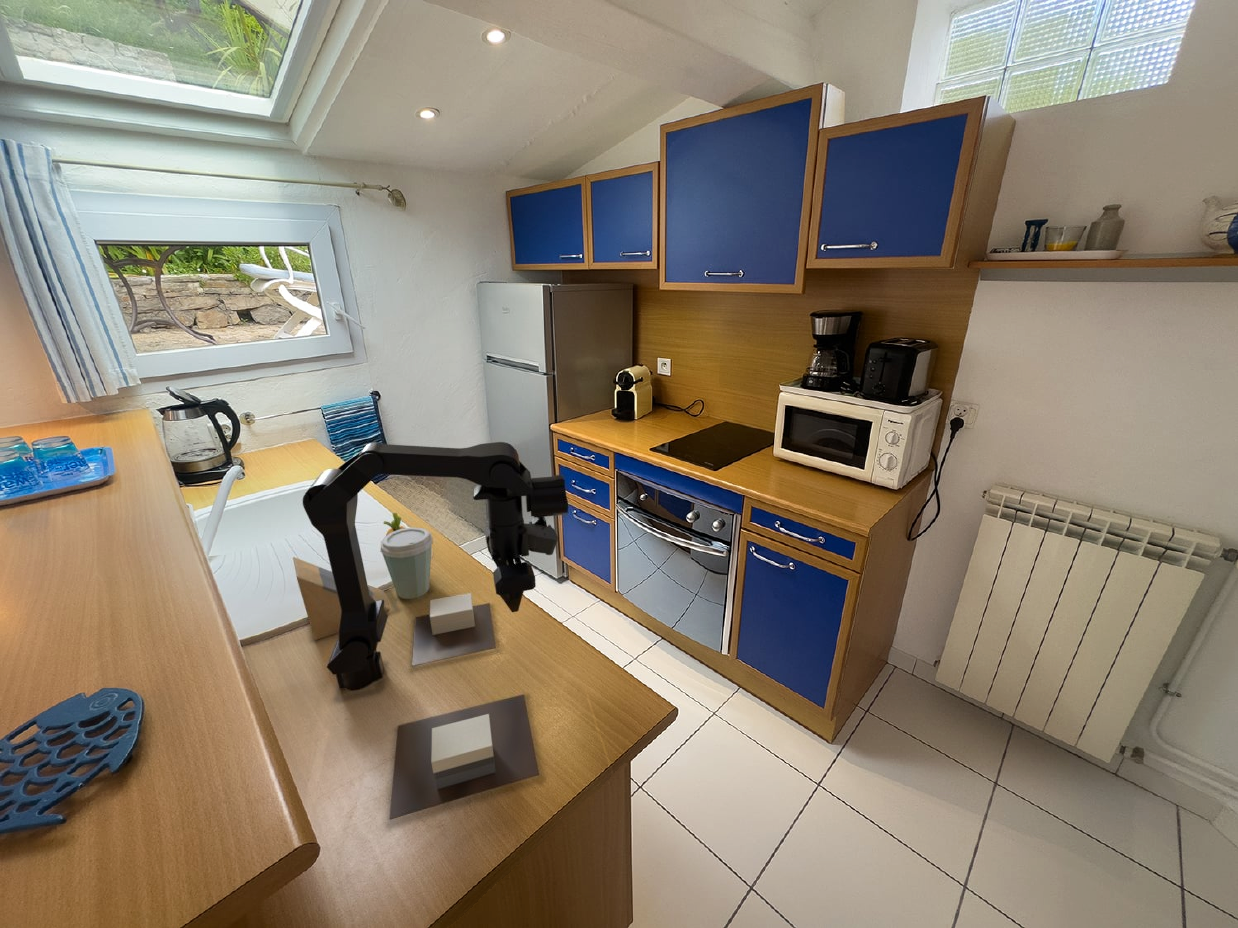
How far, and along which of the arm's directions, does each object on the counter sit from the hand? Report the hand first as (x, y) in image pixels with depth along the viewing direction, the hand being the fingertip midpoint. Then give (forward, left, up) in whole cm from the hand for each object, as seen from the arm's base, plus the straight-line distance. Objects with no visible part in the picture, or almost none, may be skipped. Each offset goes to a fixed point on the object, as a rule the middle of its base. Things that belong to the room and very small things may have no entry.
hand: (511, 595), depth 88 cm
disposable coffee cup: (-19, +26, -15) cm, 36 cm away
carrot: (-22, +36, -15) cm, 45 cm away
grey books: (-10, -21, -13) cm, 26 cm away
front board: (-10, -18, -14) cm, 25 cm away
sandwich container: (-31, +22, -15) cm, 41 cm away
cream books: (-11, +12, -13) cm, 21 cm away
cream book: (-10, -21, -9) cm, 25 cm away
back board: (-11, +9, -14) cm, 20 cm away
